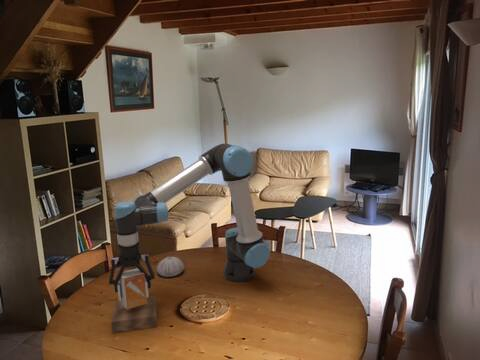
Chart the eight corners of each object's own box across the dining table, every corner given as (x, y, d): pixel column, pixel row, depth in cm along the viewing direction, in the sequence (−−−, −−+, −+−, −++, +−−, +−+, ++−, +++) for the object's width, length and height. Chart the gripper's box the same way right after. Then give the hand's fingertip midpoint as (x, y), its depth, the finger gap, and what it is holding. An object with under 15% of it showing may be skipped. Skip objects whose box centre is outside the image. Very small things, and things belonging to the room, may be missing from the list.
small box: (127, 310, 152) (123, 278, 150) (121, 303, 158) (118, 272, 155) (147, 303, 157) (144, 272, 154) (141, 297, 162) (138, 267, 159)
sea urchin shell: (162, 281, 190) (160, 265, 188) (153, 271, 202) (152, 256, 200) (188, 274, 196) (187, 259, 194) (178, 265, 208) (177, 250, 206)
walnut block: (156, 306, 168) (155, 295, 167) (156, 328, 152) (155, 315, 151) (116, 312, 165) (115, 300, 164) (112, 334, 149) (111, 322, 148)
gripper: (158, 236, 158) (162, 289, 162) (98, 242, 153) (105, 296, 158) (158, 243, 151) (163, 298, 155) (96, 250, 146) (102, 306, 151)
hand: (134, 297), depth 157 cm, fingers closed on small box, 10 cm apart
